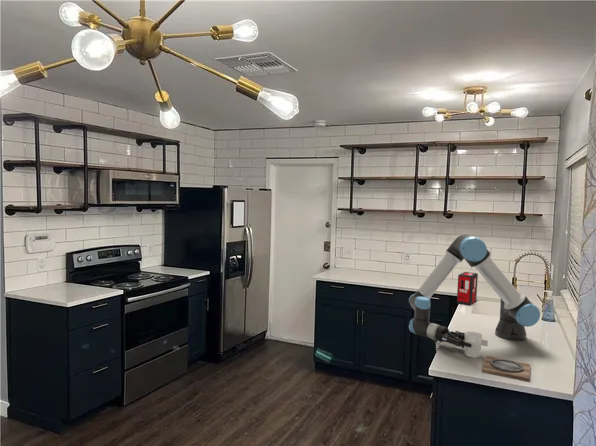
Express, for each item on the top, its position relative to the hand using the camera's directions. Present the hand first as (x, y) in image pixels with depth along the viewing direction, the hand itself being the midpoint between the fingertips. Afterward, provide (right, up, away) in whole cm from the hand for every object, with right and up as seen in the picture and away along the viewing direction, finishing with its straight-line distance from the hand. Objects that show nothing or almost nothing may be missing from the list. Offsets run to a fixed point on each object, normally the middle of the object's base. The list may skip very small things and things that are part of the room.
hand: (483, 345), depth 205 cm
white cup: (-3, -6, +4) cm, 8 cm away
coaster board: (+5, -7, -12) cm, 15 cm away
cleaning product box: (+33, 0, +107) cm, 112 cm away
